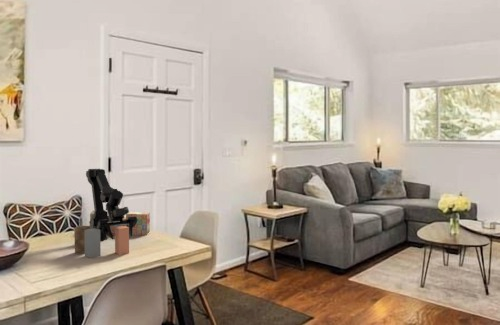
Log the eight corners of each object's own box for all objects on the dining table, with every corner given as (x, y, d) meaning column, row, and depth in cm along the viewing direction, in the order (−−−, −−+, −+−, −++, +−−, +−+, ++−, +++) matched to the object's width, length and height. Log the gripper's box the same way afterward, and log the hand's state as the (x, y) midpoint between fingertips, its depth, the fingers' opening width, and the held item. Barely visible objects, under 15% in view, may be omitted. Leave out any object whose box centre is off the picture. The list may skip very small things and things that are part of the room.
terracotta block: (115, 252, 210) (114, 226, 210) (125, 251, 213) (124, 225, 213) (118, 254, 206) (118, 228, 206) (129, 253, 209) (128, 227, 209)
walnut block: (74, 253, 208) (74, 227, 207) (80, 250, 213) (79, 225, 212) (84, 253, 207) (84, 228, 207) (89, 251, 212) (89, 225, 212)
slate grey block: (84, 256, 203) (84, 229, 203) (94, 254, 207) (94, 228, 206) (90, 258, 200) (90, 231, 199) (100, 255, 204) (100, 229, 203)
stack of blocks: (110, 234, 249) (109, 213, 248) (113, 232, 255) (113, 211, 255) (147, 235, 249) (147, 214, 248) (150, 232, 255) (149, 212, 254)
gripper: (98, 203, 207) (106, 230, 199) (136, 200, 218) (145, 225, 210) (93, 217, 213) (101, 243, 205) (130, 213, 225) (138, 238, 217)
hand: (122, 237), depth 209 cm, fingers open, 9 cm apart
